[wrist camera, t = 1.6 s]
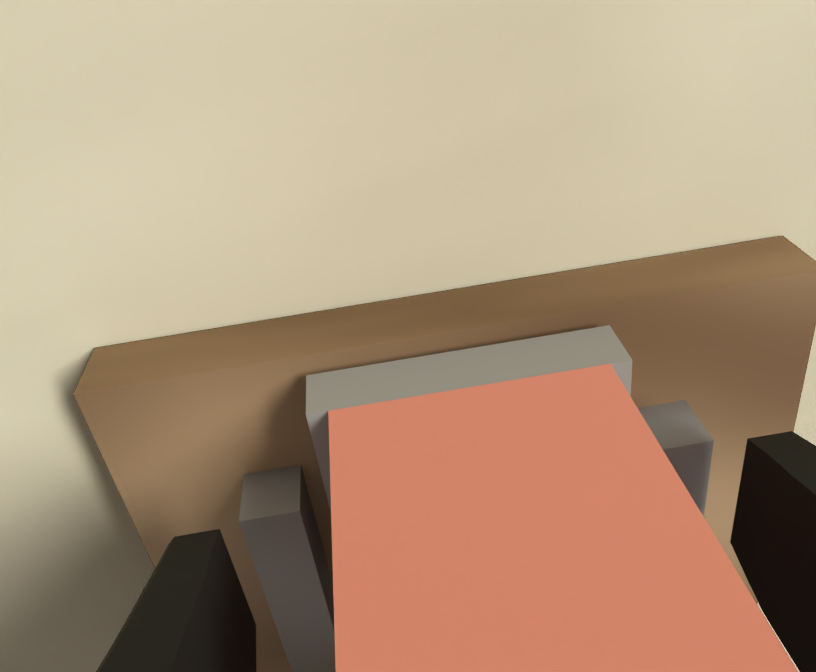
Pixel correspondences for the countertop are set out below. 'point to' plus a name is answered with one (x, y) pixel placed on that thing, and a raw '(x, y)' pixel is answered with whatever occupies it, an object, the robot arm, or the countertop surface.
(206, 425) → the cracker bench
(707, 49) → the countertop surface
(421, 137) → the countertop surface
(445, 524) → the block
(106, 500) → the countertop surface
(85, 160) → the countertop surface
